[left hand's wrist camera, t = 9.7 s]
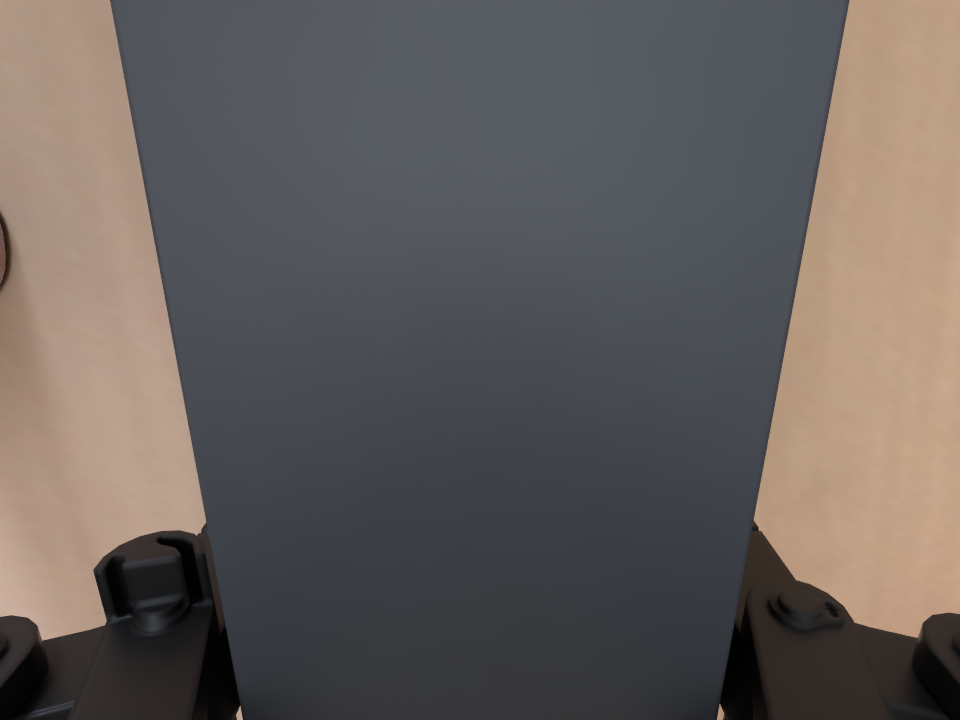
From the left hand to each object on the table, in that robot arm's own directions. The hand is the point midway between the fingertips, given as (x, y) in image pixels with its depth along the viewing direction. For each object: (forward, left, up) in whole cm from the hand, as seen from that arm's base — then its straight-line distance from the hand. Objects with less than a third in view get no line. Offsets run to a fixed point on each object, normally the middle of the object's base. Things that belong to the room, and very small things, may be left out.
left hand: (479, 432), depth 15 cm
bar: (+6, +6, 0) cm, 9 cm away
